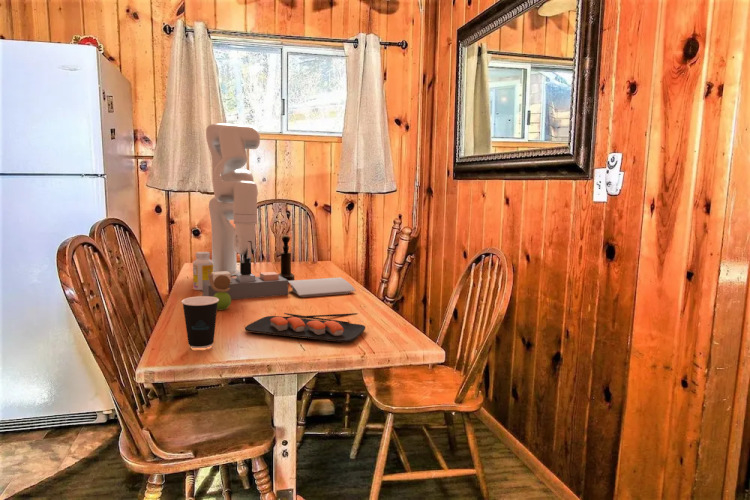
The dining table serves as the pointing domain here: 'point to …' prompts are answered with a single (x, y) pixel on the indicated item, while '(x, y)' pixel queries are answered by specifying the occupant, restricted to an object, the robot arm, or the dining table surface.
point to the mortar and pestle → (286, 260)
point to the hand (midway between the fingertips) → (245, 274)
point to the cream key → (216, 274)
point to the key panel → (251, 288)
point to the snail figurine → (221, 290)
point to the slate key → (245, 278)
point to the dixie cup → (200, 320)
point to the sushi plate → (308, 327)
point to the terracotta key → (269, 276)
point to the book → (321, 287)
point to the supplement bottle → (201, 269)
